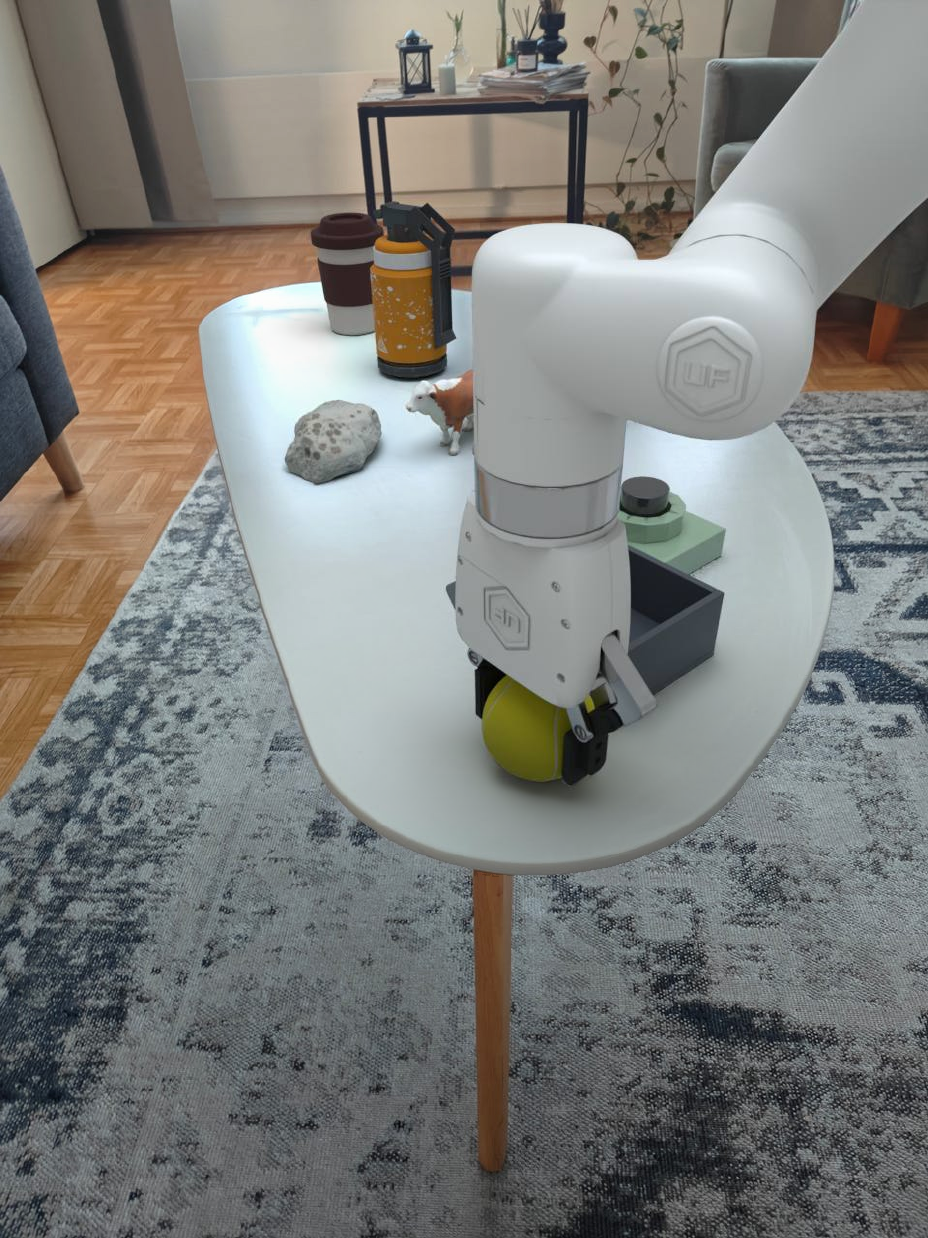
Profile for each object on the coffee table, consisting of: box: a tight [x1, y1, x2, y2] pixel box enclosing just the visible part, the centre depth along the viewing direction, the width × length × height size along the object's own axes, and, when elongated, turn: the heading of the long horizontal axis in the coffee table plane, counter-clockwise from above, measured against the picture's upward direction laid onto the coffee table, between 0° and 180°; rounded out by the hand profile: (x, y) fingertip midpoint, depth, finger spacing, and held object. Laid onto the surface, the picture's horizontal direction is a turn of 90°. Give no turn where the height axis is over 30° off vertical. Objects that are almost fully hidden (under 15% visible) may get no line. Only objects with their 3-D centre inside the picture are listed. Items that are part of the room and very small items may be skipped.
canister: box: [370, 200, 457, 379], centre depth 110 cm, size 9×11×20 cm
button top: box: [620, 475, 671, 518], centre depth 76 cm, size 4×4×2 cm
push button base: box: [618, 491, 727, 575], centre depth 78 cm, size 11×9×4 cm
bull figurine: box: [405, 368, 474, 456], centre depth 96 cm, size 4×13×8 cm, turn 139°
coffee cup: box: [310, 212, 385, 336], centre depth 126 cm, size 10×10×15 cm
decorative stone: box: [284, 399, 383, 485], centre depth 94 cm, size 12×11×5 cm
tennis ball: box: [481, 675, 595, 783], centre depth 56 cm, size 7×7×7 cm
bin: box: [589, 545, 725, 708], centre depth 66 cm, size 11×11×6 cm
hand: (538, 738), depth 57 cm, fingers closed on tennis ball, 7 cm apart
